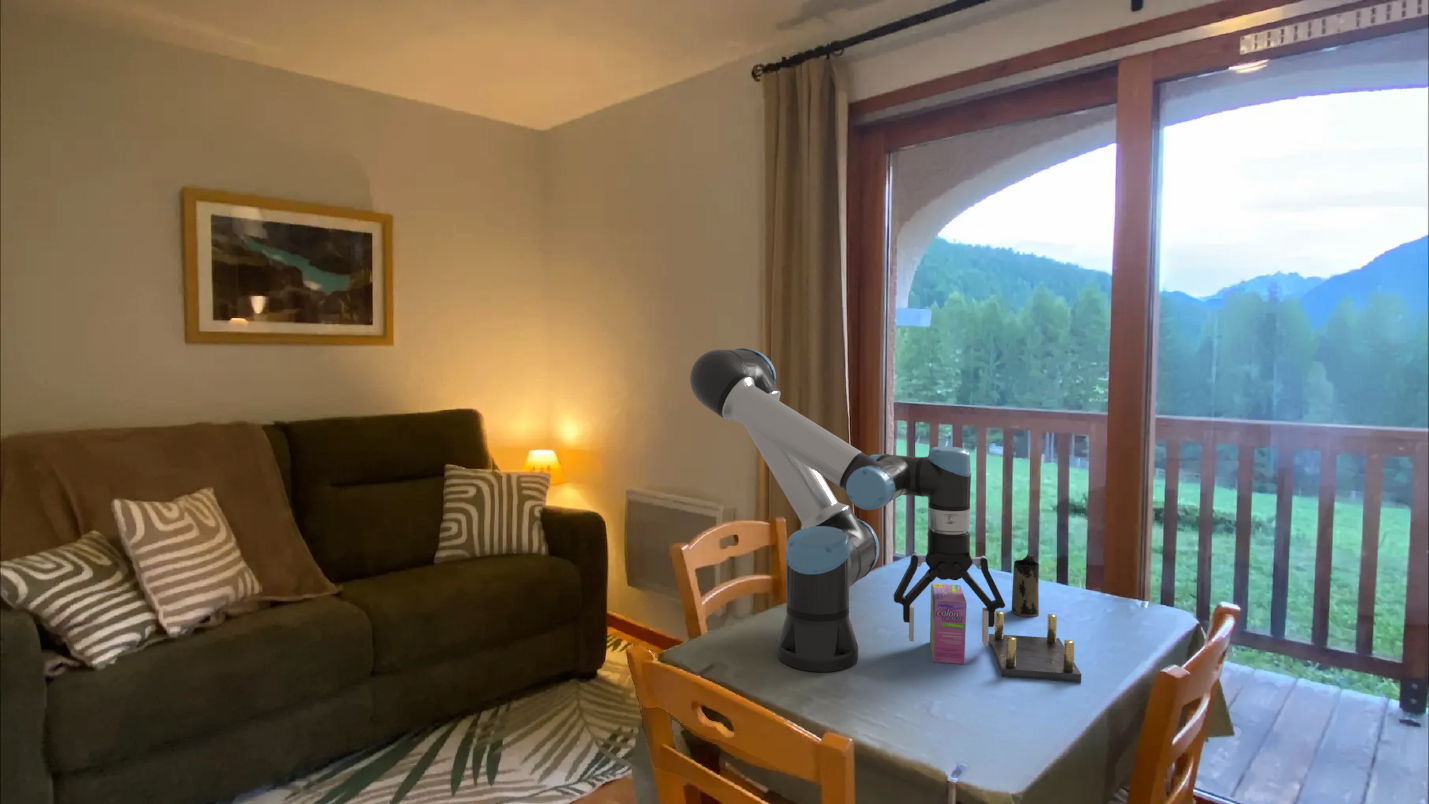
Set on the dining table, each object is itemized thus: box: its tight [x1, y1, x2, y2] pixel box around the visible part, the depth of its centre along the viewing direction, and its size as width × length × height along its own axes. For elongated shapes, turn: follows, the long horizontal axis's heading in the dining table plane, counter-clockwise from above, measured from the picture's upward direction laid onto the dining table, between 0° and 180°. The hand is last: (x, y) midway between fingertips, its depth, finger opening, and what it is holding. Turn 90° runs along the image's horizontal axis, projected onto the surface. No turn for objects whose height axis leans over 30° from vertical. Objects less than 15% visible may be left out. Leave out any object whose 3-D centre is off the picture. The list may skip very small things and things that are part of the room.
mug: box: [1011, 553, 1040, 618], centre depth 174 cm, size 8×6×12 cm
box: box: [929, 583, 968, 665], centre depth 151 cm, size 10×6×12 cm, turn 168°
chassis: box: [988, 610, 1082, 684], centre depth 147 cm, size 13×17×6 cm
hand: (947, 641), depth 151 cm, fingers open, 13 cm apart
